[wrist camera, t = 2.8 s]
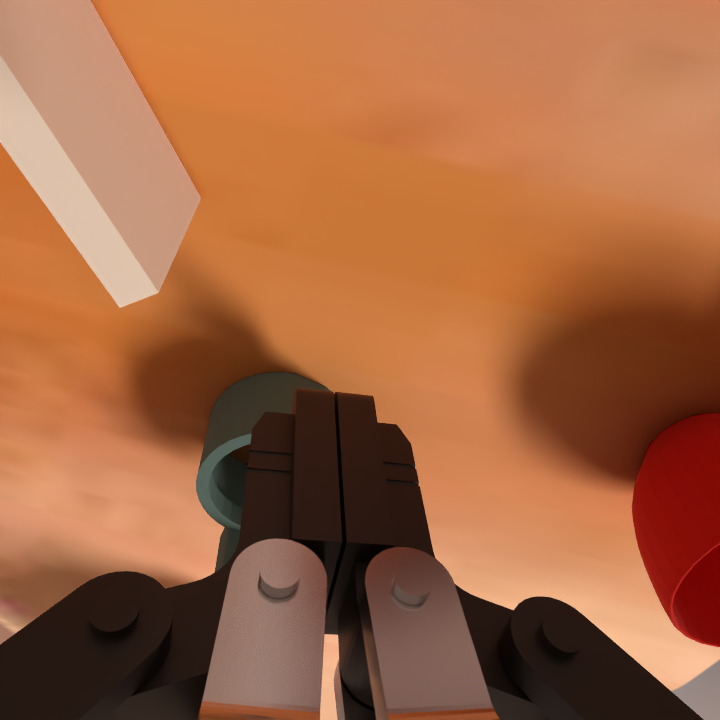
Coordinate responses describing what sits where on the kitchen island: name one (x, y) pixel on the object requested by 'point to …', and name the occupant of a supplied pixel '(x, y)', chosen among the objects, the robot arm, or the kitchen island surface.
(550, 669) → the robot arm
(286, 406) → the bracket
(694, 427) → the ceramic cup
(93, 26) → the cream flat slab
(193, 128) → the kitchen island surface
